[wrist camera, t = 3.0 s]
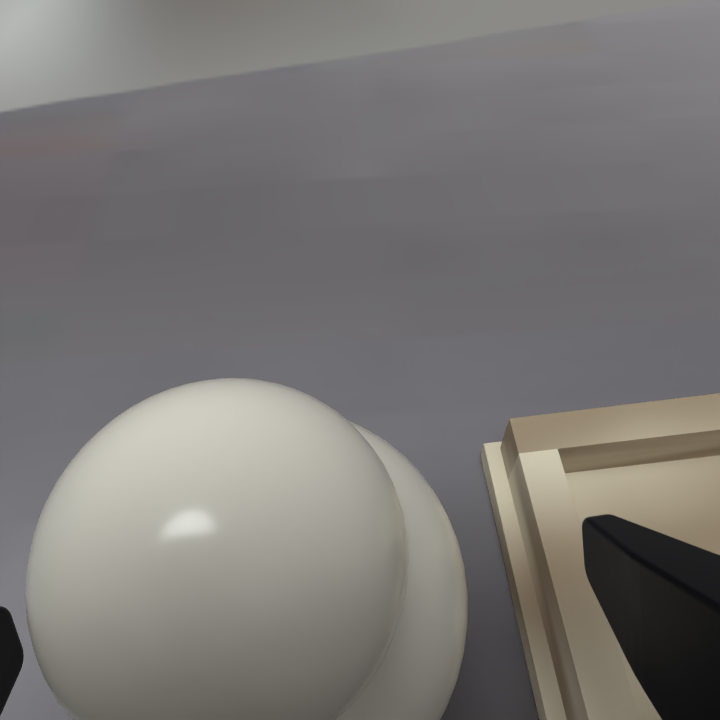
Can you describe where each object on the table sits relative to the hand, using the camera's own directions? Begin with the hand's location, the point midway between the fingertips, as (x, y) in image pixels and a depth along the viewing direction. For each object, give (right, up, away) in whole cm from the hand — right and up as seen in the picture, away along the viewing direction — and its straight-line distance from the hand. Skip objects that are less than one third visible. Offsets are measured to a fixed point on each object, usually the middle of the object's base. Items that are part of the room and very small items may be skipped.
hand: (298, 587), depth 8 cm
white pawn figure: (+1, -4, +6) cm, 8 cm away
